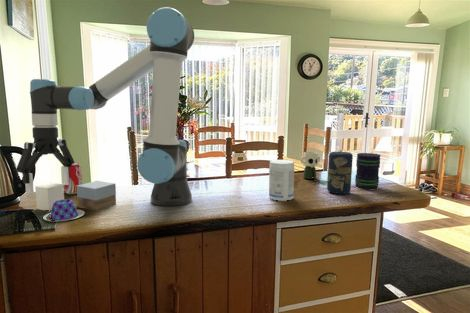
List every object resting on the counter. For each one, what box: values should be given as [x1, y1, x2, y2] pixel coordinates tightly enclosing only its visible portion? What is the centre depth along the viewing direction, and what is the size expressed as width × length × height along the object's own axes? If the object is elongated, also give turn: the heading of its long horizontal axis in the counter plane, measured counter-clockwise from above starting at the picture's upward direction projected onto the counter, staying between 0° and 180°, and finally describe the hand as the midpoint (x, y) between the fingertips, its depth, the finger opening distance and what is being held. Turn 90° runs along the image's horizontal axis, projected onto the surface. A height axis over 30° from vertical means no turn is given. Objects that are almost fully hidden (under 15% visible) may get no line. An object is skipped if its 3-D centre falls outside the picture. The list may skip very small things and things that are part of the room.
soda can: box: [63, 161, 83, 195], centre depth 140 cm, size 7×7×12 cm
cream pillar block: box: [34, 182, 65, 212], centre depth 120 cm, size 6×6×8 cm
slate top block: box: [76, 180, 117, 200], centre depth 123 cm, size 9×9×4 cm
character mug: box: [300, 151, 321, 180], centre depth 172 cm, size 11×7×13 cm, turn 111°
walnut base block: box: [76, 194, 117, 212], centre depth 124 cm, size 9×9×4 cm
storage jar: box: [354, 152, 381, 190], centre depth 155 cm, size 10×10×15 cm
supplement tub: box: [268, 159, 295, 202], centre depth 135 cm, size 10×10×15 cm
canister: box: [326, 149, 354, 195], centre depth 145 cm, size 10×10×18 cm
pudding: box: [42, 198, 86, 222], centre depth 111 cm, size 12×12×5 cm
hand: (48, 188), depth 119 cm, fingers open, 13 cm apart
